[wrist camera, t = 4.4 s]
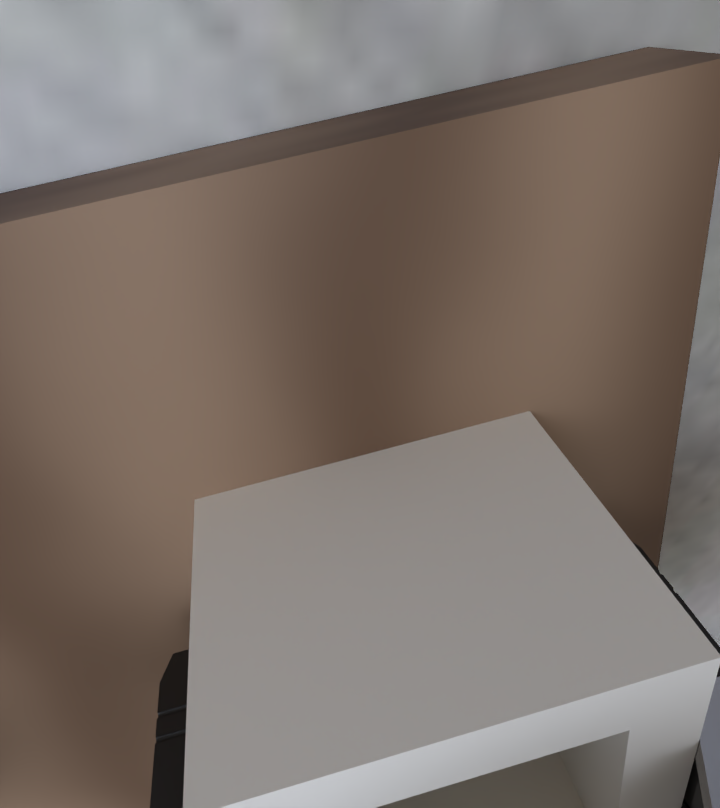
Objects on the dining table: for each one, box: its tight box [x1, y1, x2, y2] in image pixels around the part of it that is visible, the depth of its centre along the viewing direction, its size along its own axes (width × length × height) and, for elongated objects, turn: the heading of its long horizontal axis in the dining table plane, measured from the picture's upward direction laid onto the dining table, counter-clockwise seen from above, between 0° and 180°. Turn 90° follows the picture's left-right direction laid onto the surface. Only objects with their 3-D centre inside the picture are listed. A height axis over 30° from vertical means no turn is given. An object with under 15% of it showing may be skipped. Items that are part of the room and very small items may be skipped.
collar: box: [183, 411, 720, 808], centre depth 10 cm, size 6×6×5 cm
